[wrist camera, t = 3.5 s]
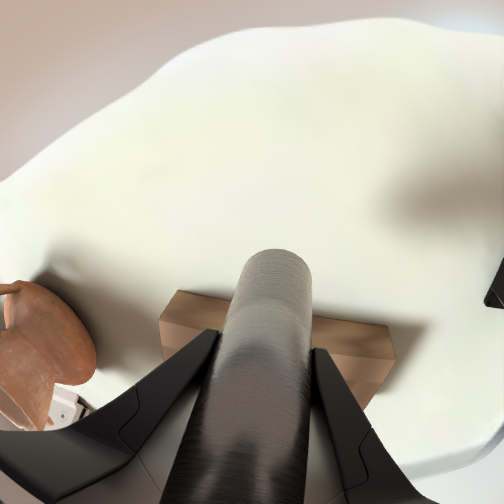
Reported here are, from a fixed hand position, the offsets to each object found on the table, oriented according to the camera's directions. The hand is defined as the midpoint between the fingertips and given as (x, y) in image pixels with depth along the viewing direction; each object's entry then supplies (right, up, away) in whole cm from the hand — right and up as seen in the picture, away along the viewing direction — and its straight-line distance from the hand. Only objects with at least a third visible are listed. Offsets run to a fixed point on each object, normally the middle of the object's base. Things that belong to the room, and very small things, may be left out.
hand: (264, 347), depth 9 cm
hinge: (-38, -24, +34) cm, 56 cm away
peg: (+1, +2, +4) cm, 4 cm away
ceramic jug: (-24, -5, +21) cm, 33 cm away
